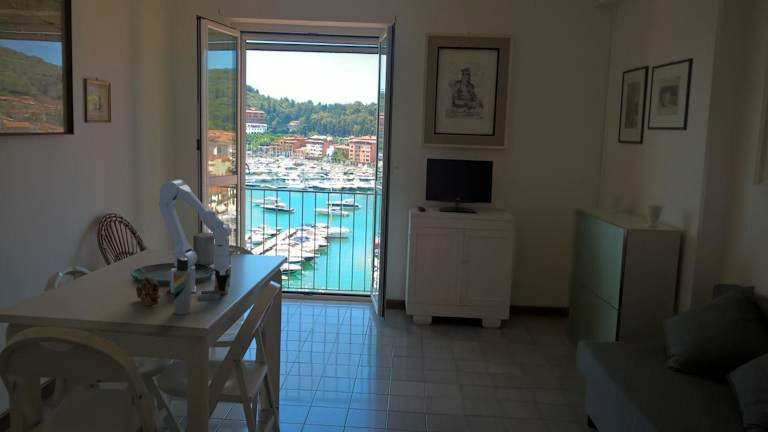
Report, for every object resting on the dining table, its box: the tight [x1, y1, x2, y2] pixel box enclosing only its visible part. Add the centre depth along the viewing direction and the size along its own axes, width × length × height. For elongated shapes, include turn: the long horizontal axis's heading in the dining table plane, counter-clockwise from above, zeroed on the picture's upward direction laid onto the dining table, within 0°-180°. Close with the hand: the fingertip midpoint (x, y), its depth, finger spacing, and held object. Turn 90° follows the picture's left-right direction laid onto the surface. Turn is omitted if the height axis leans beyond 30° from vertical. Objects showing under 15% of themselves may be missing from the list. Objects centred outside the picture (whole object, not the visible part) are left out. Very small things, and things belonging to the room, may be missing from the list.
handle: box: [226, 247, 235, 286], centre depth 254 cm, size 5×6×15 cm
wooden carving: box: [135, 276, 161, 306], centre depth 222 cm, size 16×5×10 cm, turn 47°
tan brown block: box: [213, 277, 229, 295], centre depth 243 cm, size 5×3×6 cm, turn 108°
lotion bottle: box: [173, 257, 192, 316], centre depth 215 cm, size 6×6×20 cm
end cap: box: [199, 290, 221, 301], centre depth 236 cm, size 8×6×2 cm
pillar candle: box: [192, 231, 215, 266], centre depth 290 cm, size 10×10×15 cm
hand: (221, 288), depth 243 cm, fingers open, 7 cm apart
